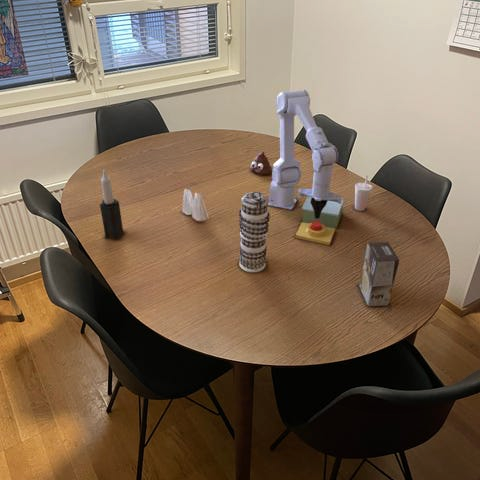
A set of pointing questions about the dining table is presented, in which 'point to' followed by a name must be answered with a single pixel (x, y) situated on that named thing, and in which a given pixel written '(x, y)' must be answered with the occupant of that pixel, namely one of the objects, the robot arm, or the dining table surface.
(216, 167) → the dining table surface
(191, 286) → the dining table surface
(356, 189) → the smoothie
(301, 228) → the yellow button base
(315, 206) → the robot arm
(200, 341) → the dining table surface
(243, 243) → the plaid banded cylinder
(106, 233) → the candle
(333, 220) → the panel
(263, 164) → the cartoon dung pile
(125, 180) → the dining table surface
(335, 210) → the pale blue lid
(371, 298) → the coffee box
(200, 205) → the shaker set
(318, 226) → the button
